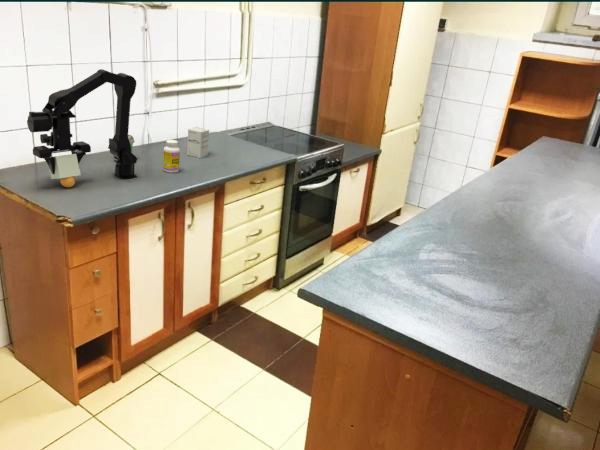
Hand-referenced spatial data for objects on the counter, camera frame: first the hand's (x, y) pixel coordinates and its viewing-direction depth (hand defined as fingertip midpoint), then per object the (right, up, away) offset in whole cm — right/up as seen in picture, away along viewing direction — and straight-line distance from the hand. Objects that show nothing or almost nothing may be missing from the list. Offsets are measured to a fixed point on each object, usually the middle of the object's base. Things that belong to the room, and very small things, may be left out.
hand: (63, 172), depth 187 cm
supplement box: (+37, +14, +57) cm, 70 cm away
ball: (+2, -3, -1) cm, 4 cm away
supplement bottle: (+31, +4, +32) cm, 44 cm away
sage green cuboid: (+1, -2, 0) cm, 2 cm away
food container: (+10, +9, +37) cm, 40 cm away
